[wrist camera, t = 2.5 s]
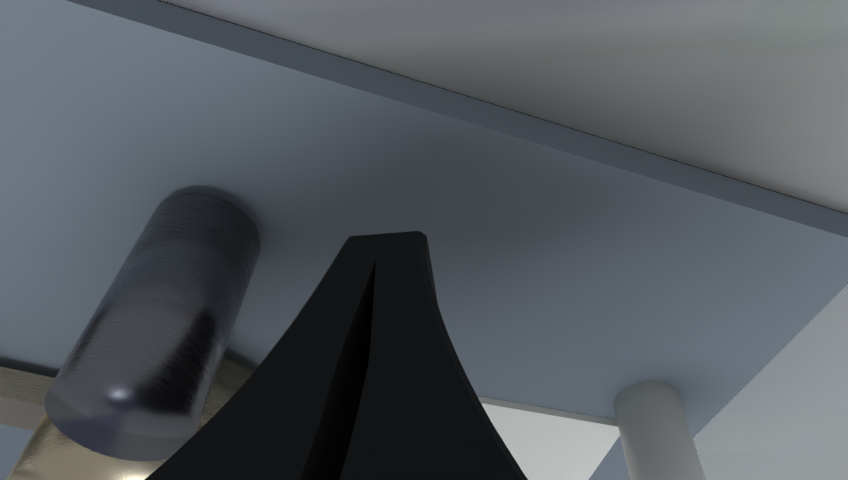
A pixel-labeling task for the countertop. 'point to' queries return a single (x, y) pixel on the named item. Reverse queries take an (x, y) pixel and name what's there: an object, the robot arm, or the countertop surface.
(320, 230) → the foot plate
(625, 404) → the white rounded posts
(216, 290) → the capstan
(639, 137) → the countertop surface
